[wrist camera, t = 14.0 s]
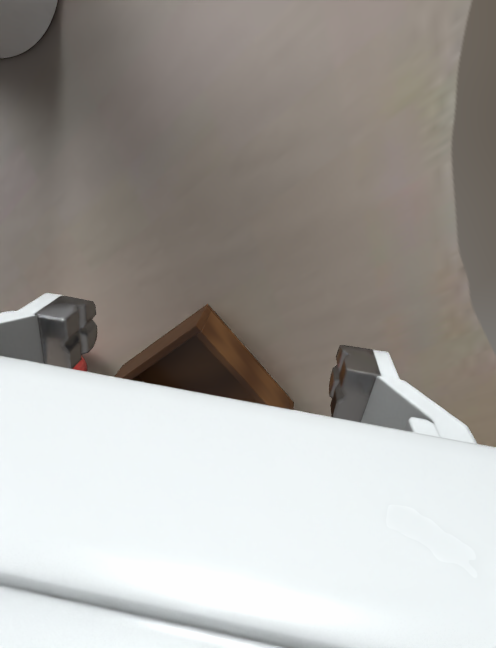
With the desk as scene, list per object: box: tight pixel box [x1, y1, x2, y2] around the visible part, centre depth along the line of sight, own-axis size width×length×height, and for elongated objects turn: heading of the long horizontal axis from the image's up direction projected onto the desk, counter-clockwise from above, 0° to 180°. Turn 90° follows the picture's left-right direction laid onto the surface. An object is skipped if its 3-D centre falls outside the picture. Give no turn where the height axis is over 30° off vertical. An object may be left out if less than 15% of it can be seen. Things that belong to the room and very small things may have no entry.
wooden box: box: [115, 304, 294, 410], centre depth 46 cm, size 17×15×5 cm
